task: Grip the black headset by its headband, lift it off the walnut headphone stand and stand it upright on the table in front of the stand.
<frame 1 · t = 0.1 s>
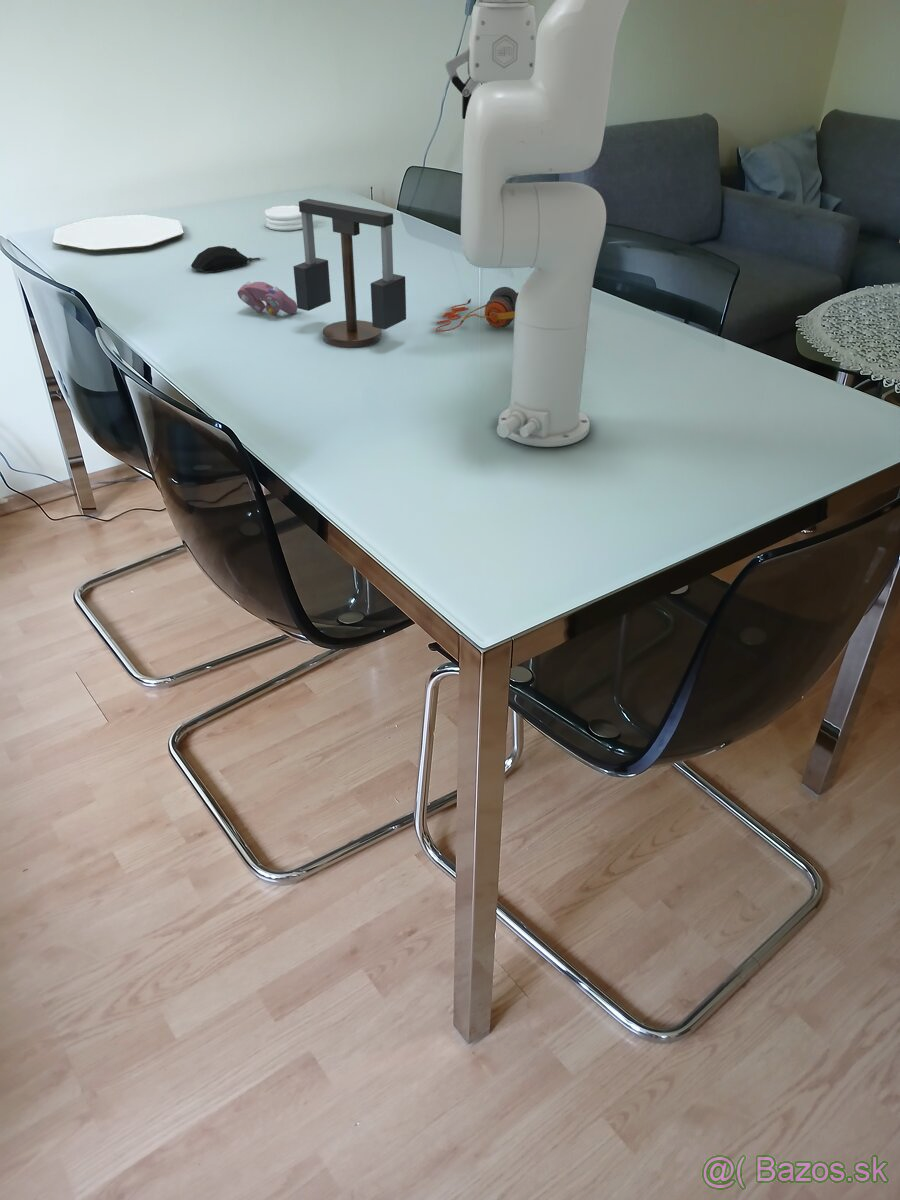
hand: (499, 123, 144), 31 cm above the table, tool pointing down, fingers open, 9 cm apart
headphone stand: (352, 337, 155), on the table
plate: (120, 238, 205), on the table
video game controller: (268, 314, 164), on the table
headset: (351, 313, 153), point 4 cm above the table, touching headphone stand
headphones: (493, 323, 161), on the table
stack of white coasters: (287, 226, 214), on the table
gaming mouse: (227, 266, 188), on the table
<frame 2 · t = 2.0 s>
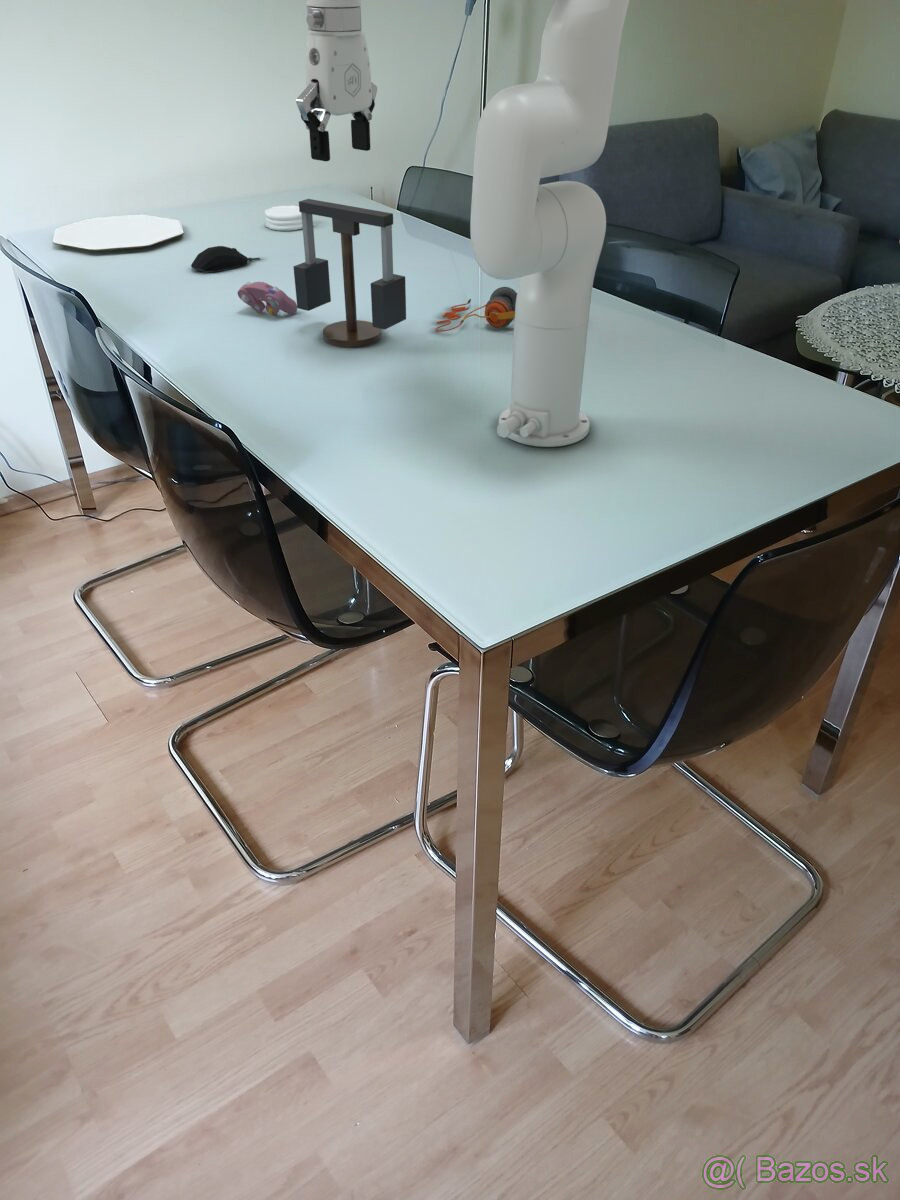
hand: (341, 154, 138), 28 cm above the table, tool pointing down, fingers open, 9 cm apart
nothing on the table moved.
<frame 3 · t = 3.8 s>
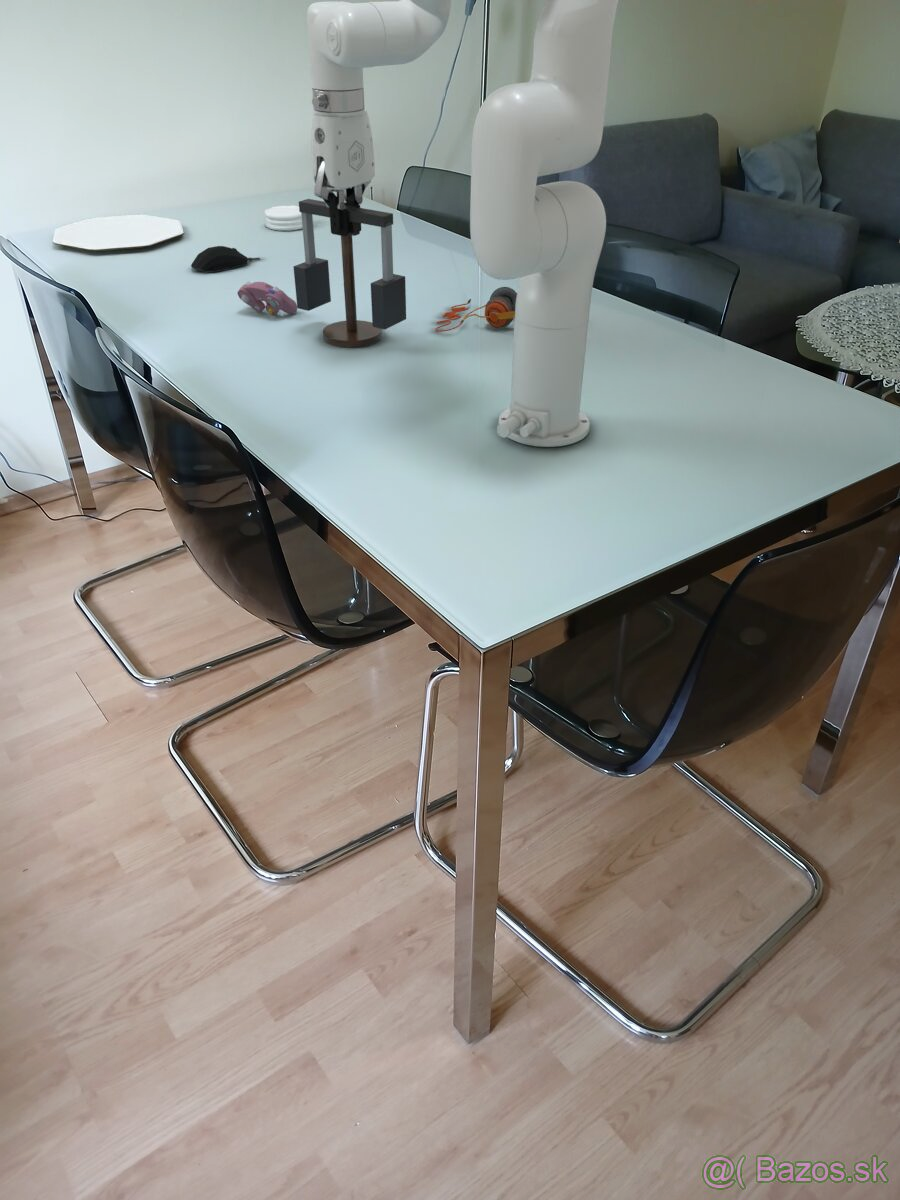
hand: (346, 231, 145), 17 cm above the table, tool pointing down, fingers closed on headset, 2 cm apart
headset: (351, 313, 153), point 4 cm above the table, touching gripper, headphone stand
everything else where it was.
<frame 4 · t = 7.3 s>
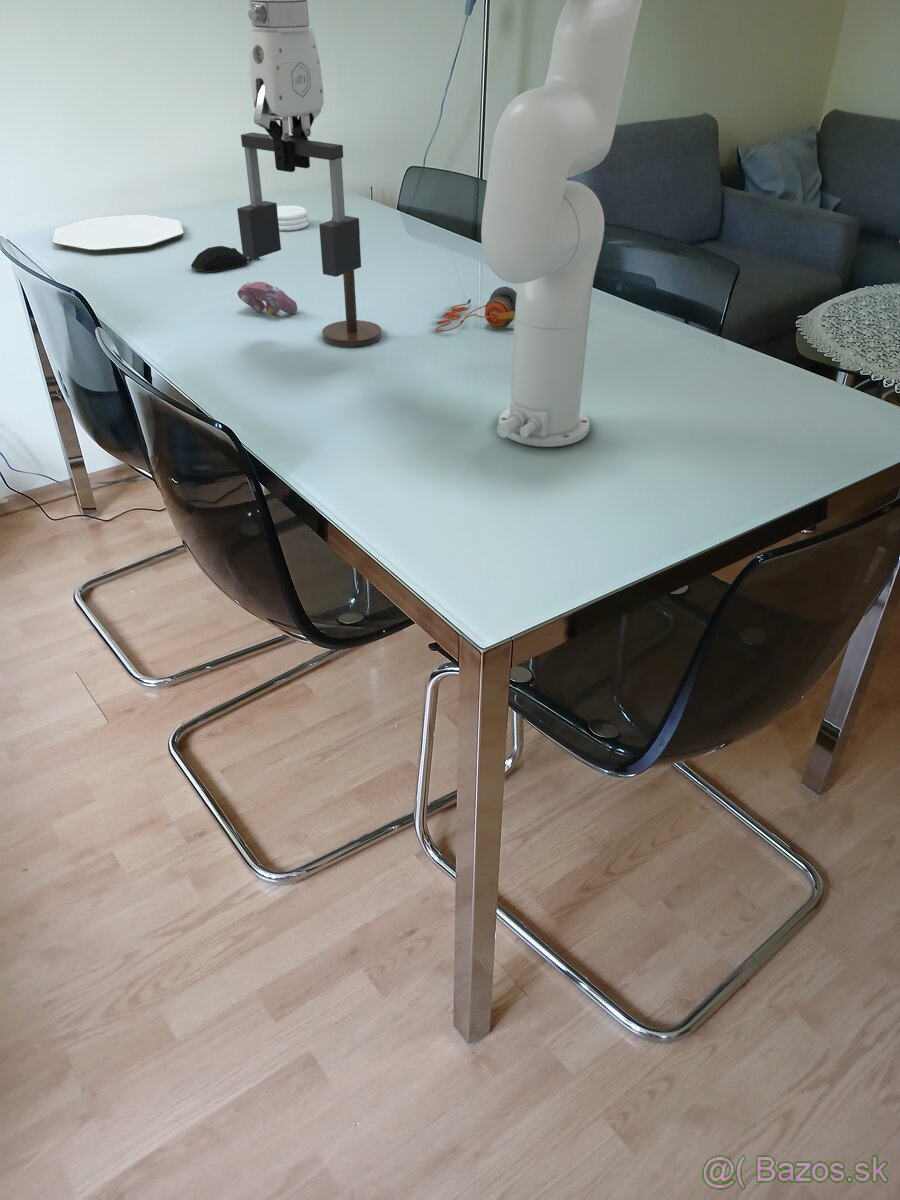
hand: (293, 167, 131), 28 cm above the table, tool pointing down, fingers closed on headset, 2 cm apart
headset: (301, 261, 139), point 15 cm above the table, touching gripper
everything else where it was.
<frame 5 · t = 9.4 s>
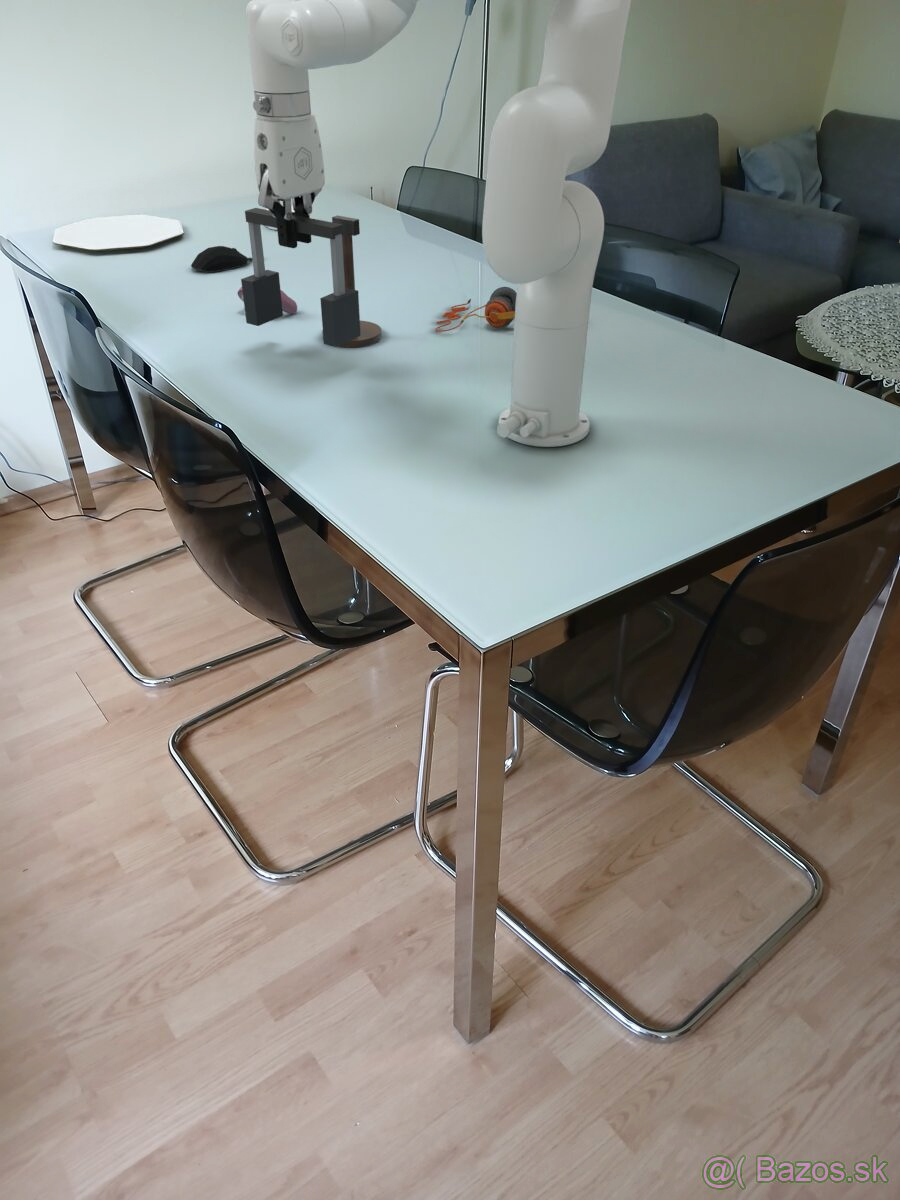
hand: (295, 243, 136), 18 cm above the table, tool pointing down, fingers closed on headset, 2 cm apart
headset: (302, 329, 144), point 5 cm above the table, touching gripper
everything else where it was.
when the fingers open (13 cm above the table, at t = 10.8 s): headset stays where it is, on the table.
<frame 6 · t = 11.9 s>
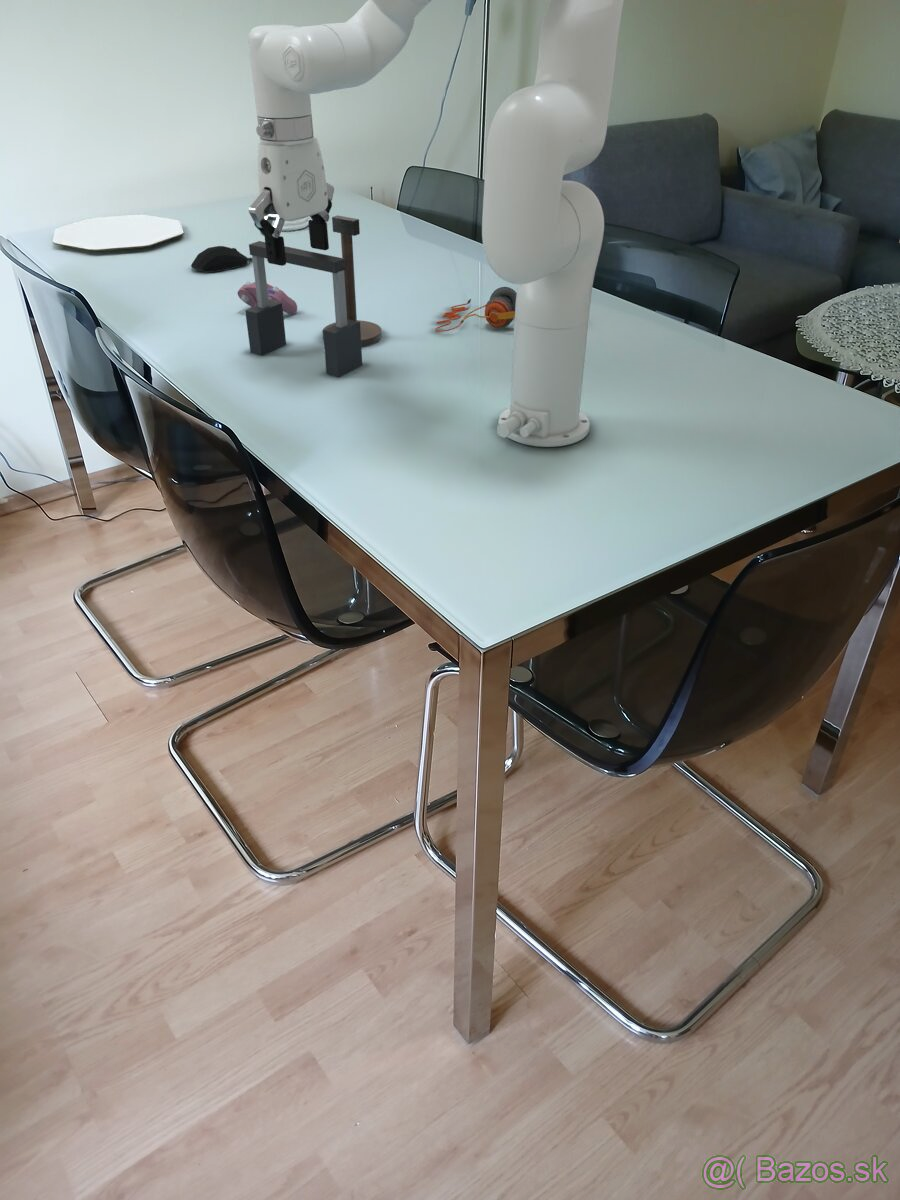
hand: (299, 256, 137), 16 cm above the table, tool pointing down, fingers open, 9 cm apart
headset: (305, 358, 147), on the table
everything else where it was.
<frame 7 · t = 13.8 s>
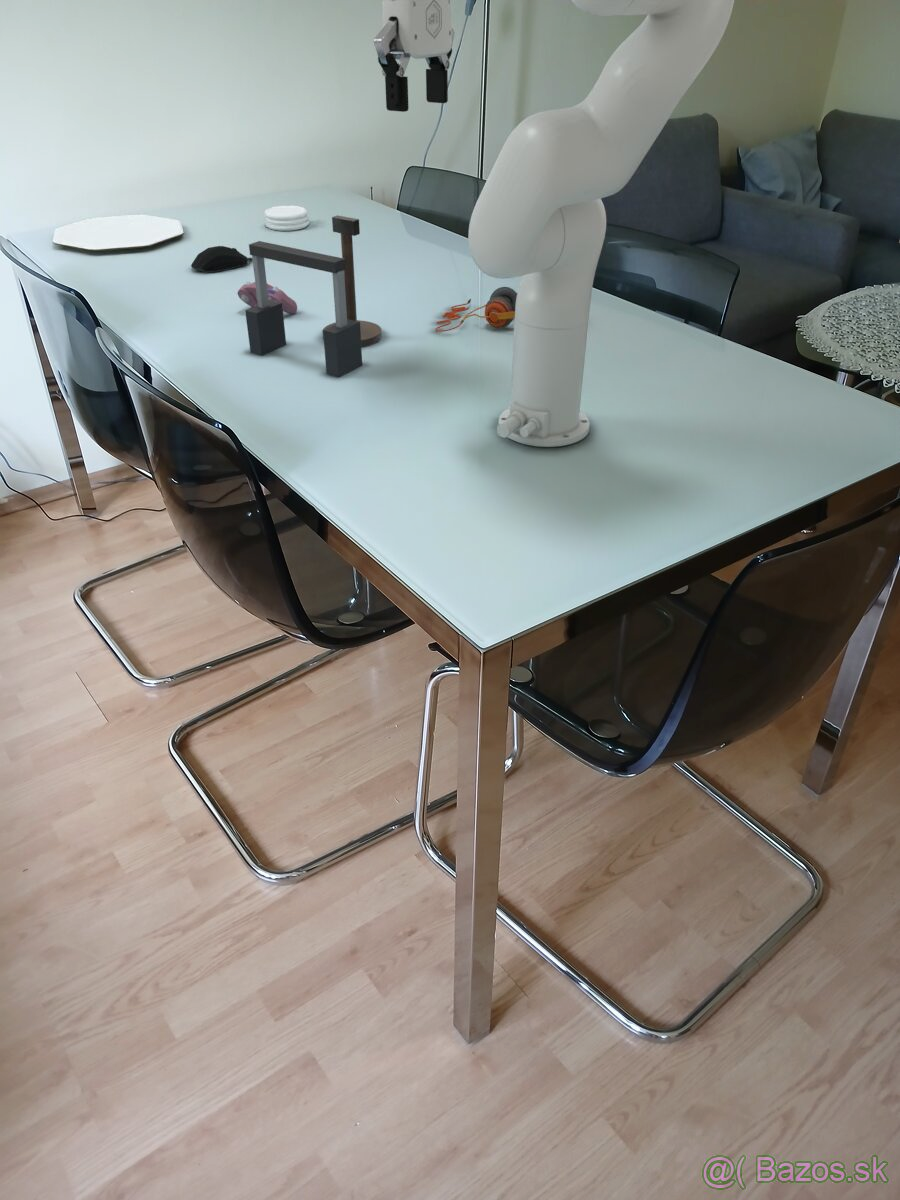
hand: (417, 106, 124), 36 cm above the table, tool pointing down, fingers open, 9 cm apart
nothing on the table moved.
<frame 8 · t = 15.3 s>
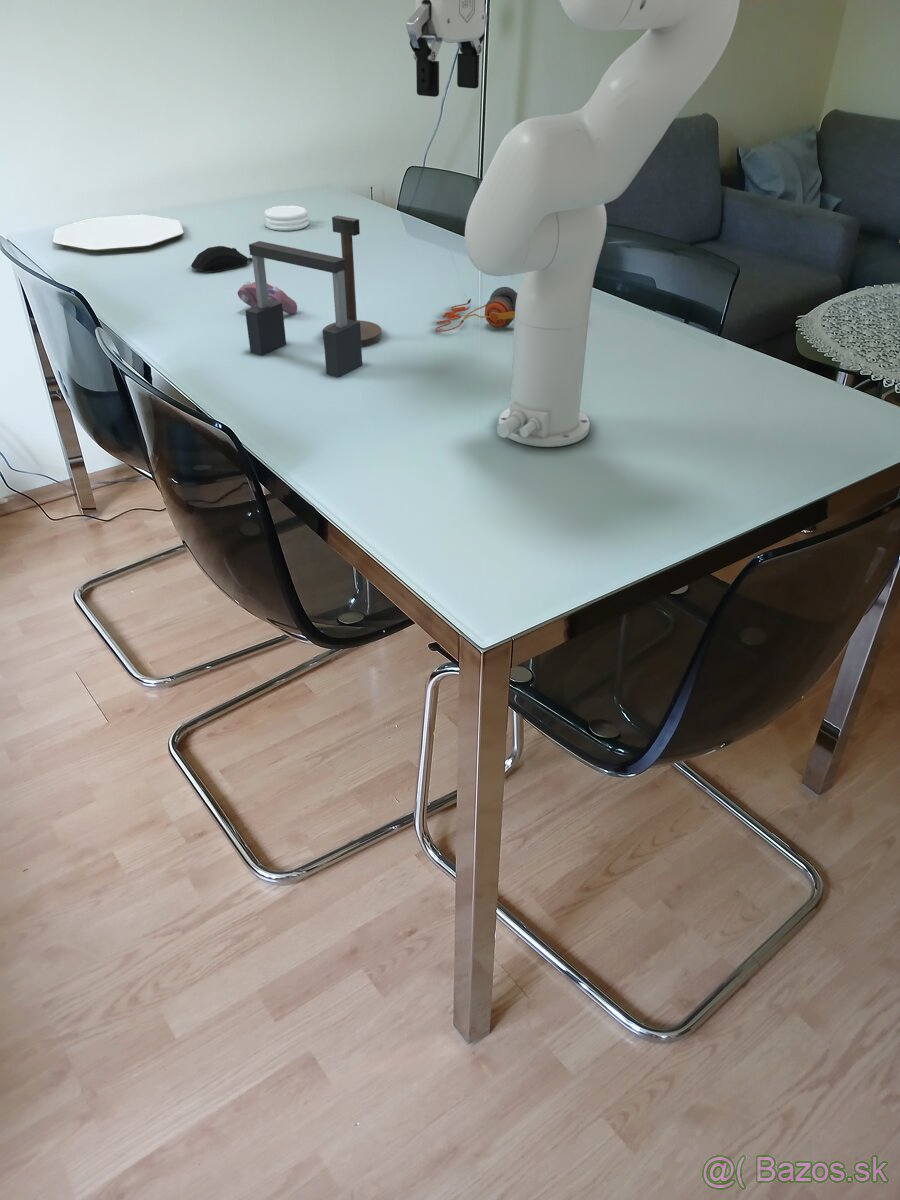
hand: (448, 91, 123), 38 cm above the table, tool pointing down, fingers open, 9 cm apart
nothing on the table moved.
at the end: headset inside the target area on the table beside the headphone stand (0.1 cm from its centre), on the table; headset tilted 0°; the gripper is holding nothing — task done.
